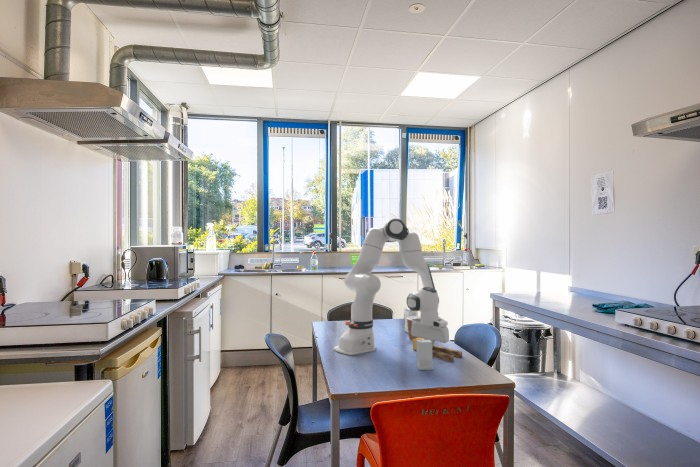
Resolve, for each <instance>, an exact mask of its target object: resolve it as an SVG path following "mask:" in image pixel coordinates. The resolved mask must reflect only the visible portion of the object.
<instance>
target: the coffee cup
mask: <svg viewBox="0 0 700 467" xmlns="http://www.w3.org/2000/svg"><path fill="white" fill-rule="evenodd" d="M414 318H419V319H420V316H418V315H417V316H411V317H407V324H408V333H407V334H408V338H409V341H412V342H413V339H416V338H420V337H415V336H412V334H411V327H412V319H414Z"/></svg>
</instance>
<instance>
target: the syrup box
mask: <svg viewBox="0 0 700 467" xmlns="http://www.w3.org/2000/svg"><path fill="white" fill-rule="evenodd" d="M403 311H404V312H403V331H404V332H405V333H407V334H409V333H408V324H407V317H411V316H418V311H412V310H410V309H409V308H408V307H404V309H403Z"/></svg>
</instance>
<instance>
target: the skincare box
mask: <svg viewBox="0 0 700 467" xmlns="http://www.w3.org/2000/svg"><path fill="white" fill-rule="evenodd" d="M416 367H417V369H418V370H419V371H423V370H424V371H425V370H427V371H428V370H429V371H431V370H433V357H432V342H431V341H430V340H417V350H416Z"/></svg>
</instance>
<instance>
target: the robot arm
mask: <svg viewBox="0 0 700 467" xmlns="http://www.w3.org/2000/svg"><path fill="white" fill-rule="evenodd" d="M396 242H397V243H398V245H399V247H400V254H401V260H402V264H403V265H404V267H406V268H407V269H409V270H411V271H414V272H415V273H417V274H418V275H419V276H420V279H421V283H422V288H421V289H420V290H418V291H415V292H411V293H408V296H407V298H406V306H407V308H409V309H410V310H412V311H417V312H420V316H419V317H420V319H419V318H414V319H412V327H411V334H412V336H415V337H420V338H422V339H424V340H430V341H431V342H432V348H433V345H435V342H438V343H442V344H446V343H448V342H449V341H450V333H449V332H450V330H449V328H448V325H449V322H448V321H447V320H445V319H444V318H442V317H440V316H439V311H438V310H439V304H440V296H439V295H438V291H437V289H436V287H435V284H434V279H433V277H432V276H433V275H432V271H431V270H430V269H431V268H430V266H429V264H428V262H427V261H426V260H425V258H424V255H423V250H422V245H421V240H420V238H419V235H418V233H416V232H414V231H410V230H409V228H408V227H407V226H406V224H405V222H403V220H401V219H399V218H391V219H389V220H388V221H387V222H386V223H385V224H384V226H383V227H382V228H381V227H371V228H369V229H368V231H367V233H366V235H365V237H364V239H363V243H362V246H361V249H360V252H359V255H358V258H357V259H356V261H355V263H354V265H353V266H352V268H351V270H350V271H348V273H347V274H346V275H345V277H344V285H345V287H347V289H348V290H350V291H352V292H355V298H354V301H353V302H352V303H351V304H350V306H351V308H350V309H351V310H350V314H351V315H350V321H347V320H346V321H345V323H344V324H345V326H348V328H347V329H346V330H345V331H344V332H343V333H342V335H341V336H339V340H338V345H336V346H334V347H333V350H334V351H335V352H337V353H339V354H342V355H348V356H349V355H350V356H355V355H361V354H364V353H369V352H374V351H376V350H377V347H376V345H375V334H374V331H373V327H374V319H373V305H374V301H375V297H376V295H377V293H379V291H380V289H381V286H382V284H381V280H380V278H379V277H378V276H376V275H375V274H373V273H372V272H373V270H374V269H375V268H376V267H377V266H379V264H380V260H381V256H382V253H383V249H384V246H385V244H386V243H396Z"/></svg>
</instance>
